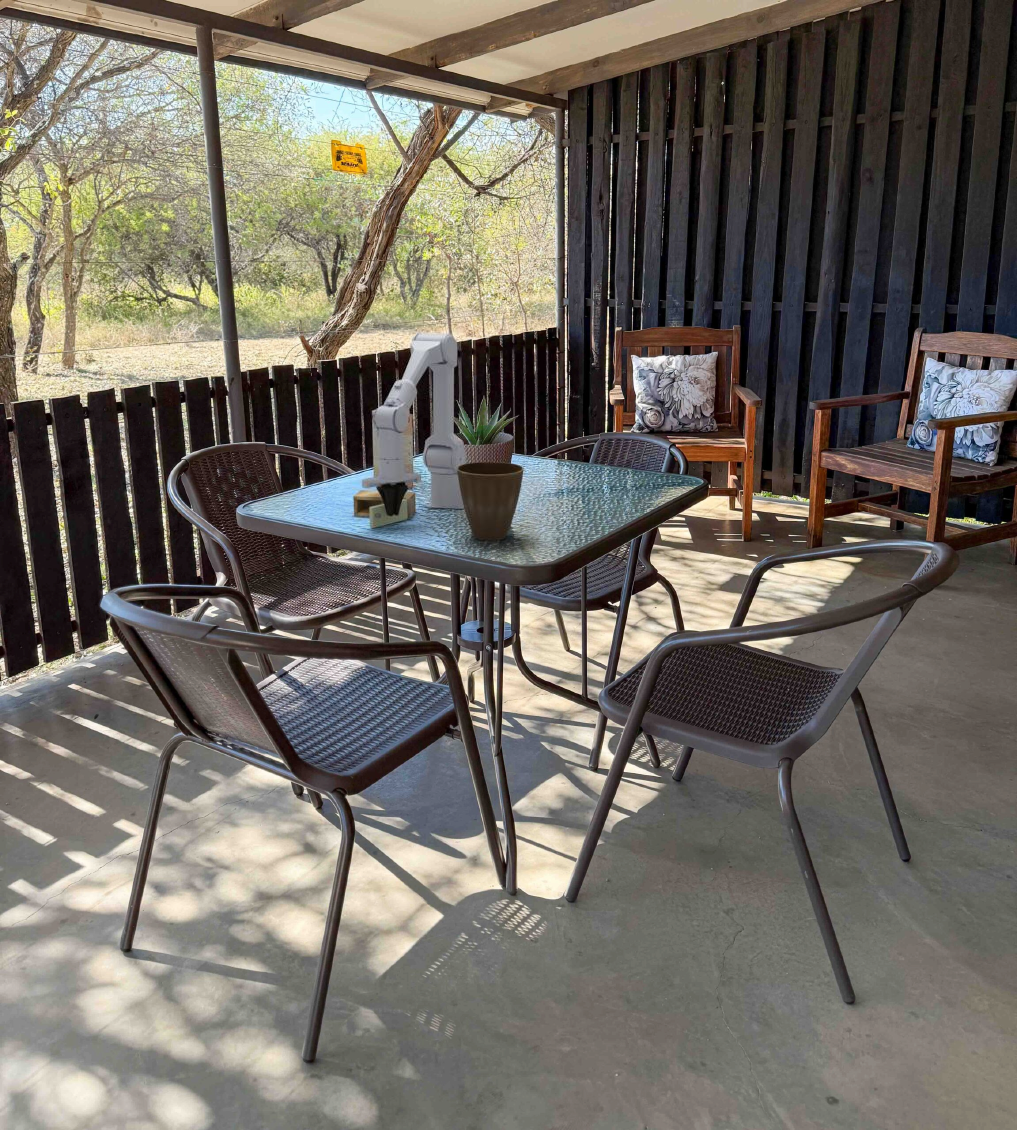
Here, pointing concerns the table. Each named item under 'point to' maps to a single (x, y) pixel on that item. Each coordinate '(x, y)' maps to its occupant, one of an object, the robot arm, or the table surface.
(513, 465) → the plant pot
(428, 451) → the robot arm
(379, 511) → the door
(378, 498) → the tan wooden crate
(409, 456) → the cracker box
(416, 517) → the table surface
